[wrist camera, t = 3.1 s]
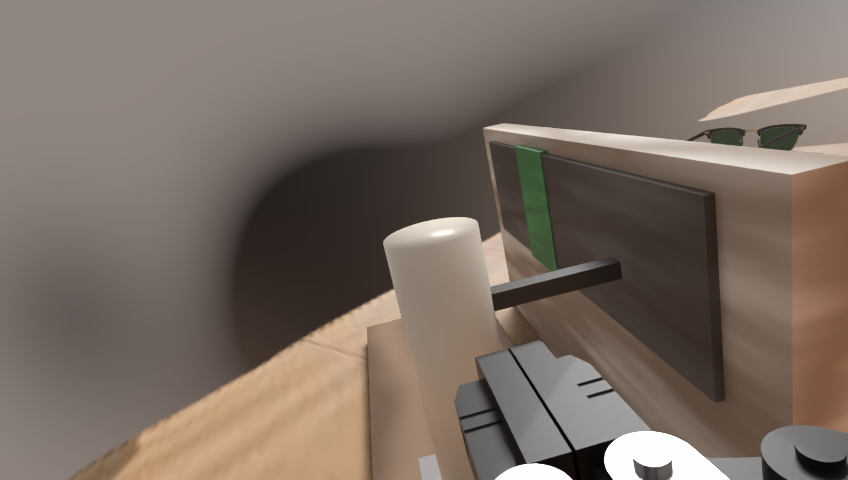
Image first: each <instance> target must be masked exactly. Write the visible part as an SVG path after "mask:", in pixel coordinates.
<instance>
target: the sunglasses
mask: <svg viewBox="0 0 848 480" xmlns="http://www.w3.org/2000/svg"><path fill="white" fill-rule="evenodd" d="M806 126H807V125H804V124H781V125H773V126H768V127H765V128H762V129H759V130H755V129H751V130H743V129H739V128H718V129H711V130H706V131H704V132H702V133H700V134H698V135H696V136H694V137H692V138H690V139H688V140H687V141H693V140H695V139H697V138H699V137H701V136H703V135H707V137H708V139H710V141H711V143H713V144H723V145H734V146H743V136H745V134H746V133H747V132H757V134H758V135H759V136H760V140H758V145H759V147H758V148H765V149H775V150H786V151H791V150H792V149H793V148H794V146H795V145H796V143H797V141H798V137H799V135H802V133H803V131H804V130H805V129H806ZM759 141H760V143H759ZM760 145H761V146H760Z"/></svg>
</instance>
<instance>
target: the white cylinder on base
mask: <svg viewBox="0 0 848 480" xmlns="http://www.w3.org/2000/svg"><path fill="white" fill-rule="evenodd" d="M383 244H384V248H385V252H386V256H387V260H388V264H389V268H390V273H391V277H392V281H393V285H394V289H395V293H396V297H397V301H398V305H399V309H400V313H401V317H402V321H403V325H404V329H405V333H406V337H407V341H408V345H409V349H410V353H411V358H412V362H413V366H414V370H415V374H416V378H417V382H418V386H419V390H420V394H421V398H422V402H423V406H424V410H425V414H426V418H427V422H428V426H429V430H430V434H431V438H432V442H433V446H434V450H435V454H433V455H429V456H425V457H422V458H418V459H419V465H420V471H421V477H422V480H475V479H474V476H473V473H472V470H471V466H470V463H469V460H468V456H467V452H466V448H465V444H464V440H463V436H462V431H461V427H460V423H459V419H458V415H457V411H456V407H455V403H454V400H455V397H456V394H457V391H458V387H459V385H463V384H466V383H470V382H473V381H477V380H479V377H478V372H477V368H476V363H475V357H478V356H481V355H485V354H489V353H492V352H496V351H500V350H502V348H501V343H500V338H499V332H498V327H497V322H496V316H495V311H497V310H501V309H505V308H509V307H513V306H517V305H521V304H525V303H529V302H533V301H537V300H541V299H544V298H548V297H552V296H556V295H560V294H564V293H568V292H572V291H576V290H580V289H584V288H588V287H592V286H596V285H599V284H603V283H607V282H611V281H615V280H619V279H622V273H621V263H620V261H618V260H616V259H615V258H613V257H608V258H604V259H600V260H596V261H592V262H588V263H584V264H580V265H576V266H572V267H568V268H564V269H560V270H556V271H552V272H548V273H544V274H540V275H536V276H532V277H528V278H524V279H520V280H516V281H512V282H508V283H504V284H500V285H496V286H492V287H490V285H489V279H488V274H487V269H486V263H485V258H484V253H483V248H482V242H481V237H480V232H479V226H478V222H477V221H476V220H474V219H471V218H463V217H453V218H442V219H436V220H430V221H426V222H422V223H418V224H414V225H411V226H408V227H406V228H403V229H401V230H398V231H397V232H394V233H393V234H391V235H389V236H388V237H387V238H386V239H385V240H384V242H383Z"/></svg>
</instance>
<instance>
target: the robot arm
mask: <svg viewBox="0 0 848 480" xmlns="http://www.w3.org/2000/svg"><path fill="white" fill-rule="evenodd" d="M475 363H476V368H477V372H478V377H479V380H477V381H473V382H470V383H466V384H463V385H459V387H458V391H457V394H456V397H455V400H454V403H455V407H456V411H457V415H458V419H459V423H460V427H461V431H462V436H463V440H464V444H465V448H466V452H467V456H468V460H469V463H470V466H471V470H472V473H473V476H474V479H475V480H848V433H844V432H840V431H836V430H832V429H828V428H823V427H817V426H809V425H793V426H786V427H781V428H778V429H775V430H773V431H771V432H770V433H768V434H767V435H766V436H765V437H764V439H763V440H762V443H761V457H745V458H708V457H703V456H702V455H700V454H699V453H698V452H697V451H696V450H695V449H694V448H692V447H691V446H690V445H688V444H687V443H686V442H684V441H682V440H680V439H678V438H676V437H673V436H670V435H667V434H663V433H657V432H653V431H652V430H651V429H650V428H649V427H648V426H647V425H646V424H645V423H644V422H643V420H642V419H641V418H640V417H639V416H638V415H637V414H636V413H635V412H634V411H633V410H632V409H631V408H630V406H629V405H628V404H627V403H626V402H625V401H624V400H623V399H622V398H621V397H620V396H619V395H618V394H617V392H616V391H615V392H614V391H613V388H612V387H611V386H610V385H609V384H608V383H607V382H606V381H605V380H603V378H602V376H601V375H600V374H599V373H598V372H597V371H596V370H595V369H594V368H593V367H592V365H591V364H590V363H587V362H585V361H583V360H581V359H579V358H576V357H574V356H572V355H567V356H563V357H560V358H555V357H554V355H553V354H552V353H551V352H550V350H549V349H548V348H547V347H546V345H545V344H544V343H543V342H542V341H541V340H536V341H532V342H528V343H525V344H521V345H517V346H514V347H510V348H508V350H507V349H503V350H500V351H496V352H492V353H489V354H485V355H481V356H478V357H475Z"/></svg>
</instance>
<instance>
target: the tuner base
mask: <svg viewBox="0 0 848 480" xmlns="http://www.w3.org/2000/svg"><path fill="white" fill-rule="evenodd" d="M483 132H484V137H485V143H486V149H487V154H488V160H489V165H490V171H491V177H492V183H493V189H494V194H495V199H496V205H497V211H498V217H499V222H500V228H501V234H502V240H503V245H504V251H505V257H506V262H507V268H508V274H509V279H510V282H512V281H516V280H520V279H524V278H528V277H532V276H536V275H540V274H544V273H548V272H552V271H556V270H560V269H564V268H568V267H572V266H576V265H580V264H584V263H588V262H592V261H596V260H600V259H604V258H608V257H613V258H615V259H616V260H618V261H620V263H621V273H622V279H619V280H615V281H611V282H607V283H603V284H599V285H596V286H592V287H588V288H584V289H580V290H576V291H572V292H568V293H564V294H560V295H556V296H552V297H548V298H544V299H541V300H537V301H533V302H529V303H525V304H521V305H517V306H516V307H517V309H518V310H519V311H520V312H521V314H522V315H523V316H524V318H525V319H526V320H527V321H528V323H529V324H530V325H531V326H532V328H533V329H534V330H535V331H536V333H537V334H538V335H539V336H540V338H541V339H542V340H543V341H544V343H545V344H546V345H547V346H548V348H549V349H550V350H551V352H552V353H553V354H554V355H555V357H556V358H560V357H563V356H567V355H572V356H574V357H576V358H579V359H581V360H583V361H585V362H587V363H590V364H591V365H592V367H593V368H594V369H595V370H596V371H597V372H598V373H599V374H600V375H601V376H602V378H603V380H605V381H606V382H607V383H608V384H609V385H610V386H611V387H612V388H613V391H614V392H615V391H616V392H617V394H618V395H619V396H620V397H621V398H622V399H623V400H624V401H625V402H626V403H627V404H628V405H629V406H630V408H631V409H632V410H633V411H634V412H635V413H636V414H637V415H638V416H639V417H640V418H641V419H642V420H643V422H644V423H645V424H646V425H647V426H648V427H649V428H650V429H651V430H652V431H653V432H657V433H663V434H667V435H670V436H673V437H676V438H678V439H680V440H682V441H684V442H686V443H687V444H688V445H690V446H691V447H692V448H694V449H695V450H696V451H697V452H698V453H699V454H700V455H702V456H703V457H708V458H745V457H761V443H762V440H763V439H764V437H765V436H766V435H767V434H768V433H770V432H771V431H773V430H775V429H778V428H781V427H786V426H793V425H809V426H817V427H823V428H828V429H832V430H836V431H840V432H844V433H848V156H838V155H827V154H817V153H807V152H796V151H786V150H775V149H765V148H755V147H744V146H734V145H723V144H713V143H703V142H692V141H682V140H671V139H661V138H651V137H639V136H630V135H619V134H609V133H608V134H607V133H598V132H588V131H577V130H567V129H557V128H547V127H535V126H525V125H515V124H505V123H503V124H499V125H495V126H490V127H486V128H483ZM496 322H497V327H498V332H499V338H500V343H501V348H502V350H503V349H507V350H508V348H510V347H514V344H513V343H512V341H511V340H510V338H509V337H508V335H507V334H506V332H505V331H504V329H503V328H502V326H501V324H500V323H499V321H498V320H497V318H496ZM367 338H368V366H369V394H370V422H371V450H372V477H373V480H422V477H421V471H420V465H419V459H418V458H422V457H425V456H429V455H433V454H435V450H434V446H433V442H432V438H431V434H430V430H429V426H428V422H427V418H426V414H425V410H424V406H423V402H422V398H421V394H420V390H419V386H418V382H417V378H416V374H415V370H414V366H413V362H412V358H411V353H410V349H409V345H408V341H407V337H406V333H405V329H404V325H403V321H402V319H398V320H394V321H390V322H386V323H382V324H378V325H374V326H370V327H367Z"/></svg>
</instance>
